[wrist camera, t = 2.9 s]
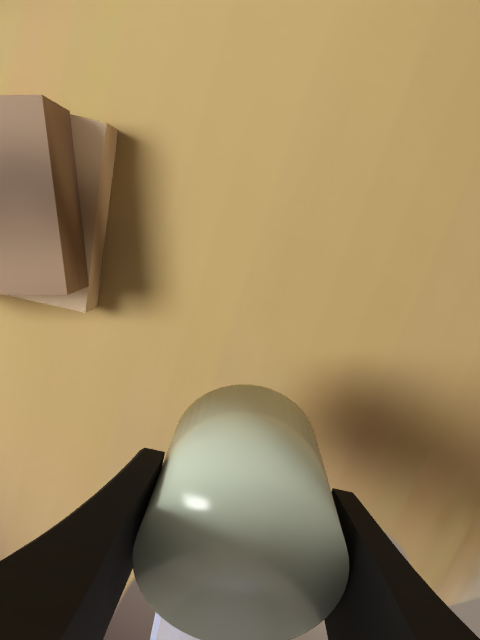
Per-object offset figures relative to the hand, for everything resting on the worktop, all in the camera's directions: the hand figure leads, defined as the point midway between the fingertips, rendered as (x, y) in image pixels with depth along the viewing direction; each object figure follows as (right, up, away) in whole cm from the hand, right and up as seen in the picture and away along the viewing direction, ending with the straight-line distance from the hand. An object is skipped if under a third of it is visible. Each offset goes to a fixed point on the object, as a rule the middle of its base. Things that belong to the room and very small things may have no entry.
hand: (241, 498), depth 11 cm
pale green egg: (0, +1, +2) cm, 2 cm away
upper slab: (-10, +10, +5) cm, 15 cm away
